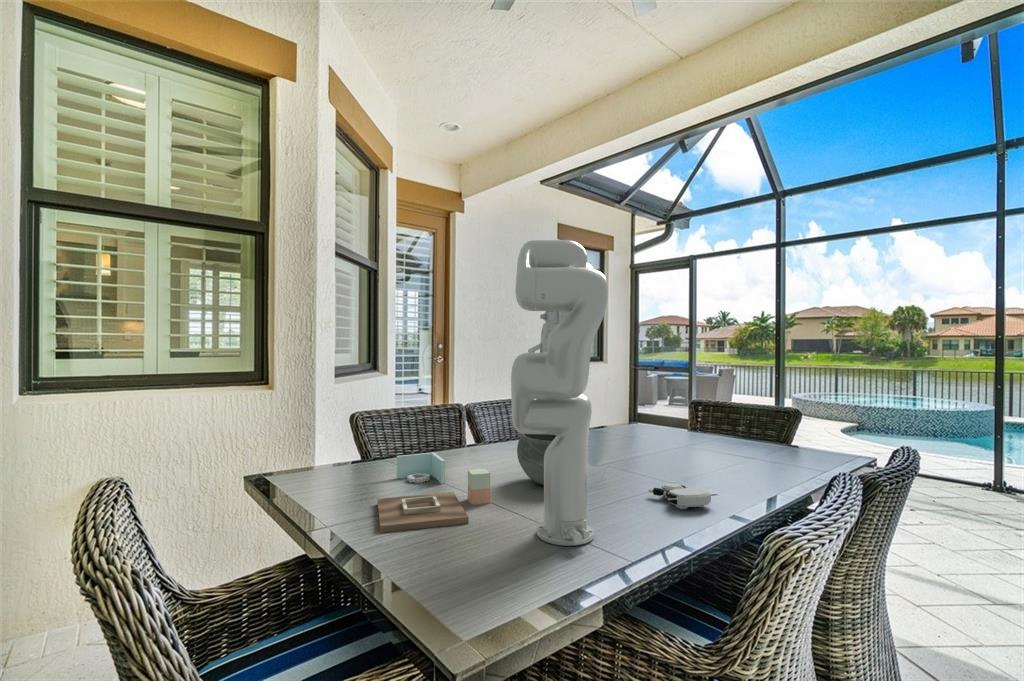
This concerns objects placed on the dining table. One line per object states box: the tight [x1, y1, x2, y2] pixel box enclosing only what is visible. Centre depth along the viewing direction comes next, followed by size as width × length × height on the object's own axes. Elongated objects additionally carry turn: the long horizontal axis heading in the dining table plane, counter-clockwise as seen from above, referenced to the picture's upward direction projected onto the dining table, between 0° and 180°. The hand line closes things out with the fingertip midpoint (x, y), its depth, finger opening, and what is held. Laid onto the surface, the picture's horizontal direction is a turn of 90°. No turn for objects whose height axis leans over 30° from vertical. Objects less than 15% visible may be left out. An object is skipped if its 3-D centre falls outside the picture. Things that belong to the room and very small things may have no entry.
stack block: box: [467, 468, 491, 506], centre depth 129 cm, size 5×5×8 cm
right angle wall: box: [396, 452, 446, 485], centre depth 148 cm, size 12×12×8 cm
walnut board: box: [377, 491, 469, 534], centre depth 120 cm, size 20×20×3 cm
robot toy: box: [648, 483, 719, 510], centre depth 128 cm, size 12×4×15 cm
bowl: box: [516, 433, 556, 486], centre depth 146 cm, size 21×21×15 cm
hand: (558, 379), depth 136 cm, fingers open, 9 cm apart
